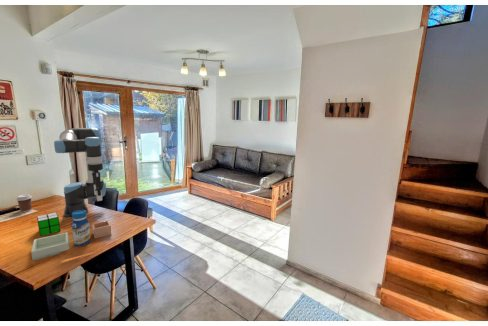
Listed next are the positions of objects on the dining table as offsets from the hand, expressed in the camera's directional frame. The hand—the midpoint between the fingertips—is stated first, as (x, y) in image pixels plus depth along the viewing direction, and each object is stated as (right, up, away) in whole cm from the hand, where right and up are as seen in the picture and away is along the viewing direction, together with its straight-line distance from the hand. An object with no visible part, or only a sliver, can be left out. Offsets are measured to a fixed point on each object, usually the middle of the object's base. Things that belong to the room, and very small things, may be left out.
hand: (98, 197), depth 142 cm
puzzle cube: (-37, -23, +8) cm, 44 cm away
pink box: (0, -24, +5) cm, 25 cm away
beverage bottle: (-5, -27, -6) cm, 28 cm away
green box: (-18, -27, -12) cm, 35 cm away
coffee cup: (-82, -16, +40) cm, 92 cm away
